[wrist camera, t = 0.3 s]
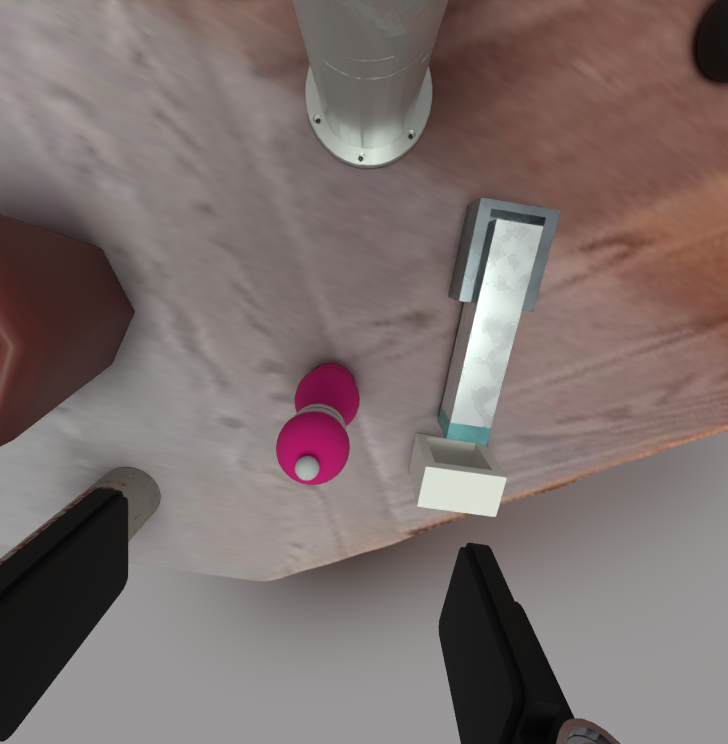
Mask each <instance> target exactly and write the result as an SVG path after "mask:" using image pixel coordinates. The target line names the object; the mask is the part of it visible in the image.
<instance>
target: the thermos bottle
mask: <svg viewBox="0 0 728 744" xmlns="http://www.w3.org/2000/svg"><path fill="white" fill-rule="evenodd" d="M96 488H107V489H114V490H120V491H122V493H123V496H124V497H127V499H128V542H129V540H130V539H131V538H132V537H133V536H134V535H135V534H136V532H137V531H138V530H139V529H140V528H141V527H142V526H143V524H144V523H145V522H146V521H147V520H148V519H149V517H150V516H151V515H152V514H153V513H154V512H155V511H156V509H157V507H158V505H159V503H160V492H159V489H158V486H157V485H156V483H155V482H154V480H153V479H152V478H151V477H150V476H148V475H147V474H146V473H144V472H142V471H140V470H137V469H134V468H125V467H124V468H117V469H115V470H112V471H111V472H109V473H108V474H106V475H105V476H104V477H103V478H101V479H100V480H99V481H97V482H96V483H95V484H94V485H92V486H91V487H90V488H89V489H87V490H86V491H85V492H84V493H82V494H81V495H80V496H79V497H77V498H76V499H75V500H74V501H72V502H71V503H70V504H69V505H67V506H66V507H65V508H63V509H62V510H61V511H60V512H58V513H57V514H56V515H55V516H53V517H52V518H51V519H50V520H48V521H47V522H46V523H45V524H43V525H42V526H41V527H40V528H38V529H37V530H36V531H35V532H33V533H32V534H31V535H29V536H28V537H27V538H26V539H24V540H23V541H22V542H21V543H19V544H18V545H17V546H16V547H14V548H13V549H12V550H11V551H9V552H8V553H7V554H6V555H4V556H3V557H2V558H1V559H0V564H2V563H3V562H4V561H5V560H7V559H8V558H9V557H10V556H12V555H13V554H14V553H15V552H17V551H18V550H19V549H20V548H22V547H23V546H24V545H25V544H27V543H28V542H29V541H30V540H32V539H33V538H34V537H35V536H37V535H38V534H39V533H40V532H42V531H43V530H44V529H45V528H47V527H48V526H49V525H50V524H52V523H53V522H54V521H55V520H57V519H58V518H59V517H60V516H62V515H63V514H64V513H65V512H67V511H68V510H69V509H70V508H72V507H73V506H74V505H75V504H77V503H78V502H79V501H80V500H82V499H83V498H84V497H85V496H87V495H88V494H89V493H90V492H92V491H93V490H94V489H96Z"/></svg>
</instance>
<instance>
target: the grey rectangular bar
mask: <svg viewBox="0 0 728 744" xmlns="http://www.w3.org/2000/svg"><path fill="white" fill-rule="evenodd" d="M542 230H543V226H537V225H531V224H525V223H518V222H512V221H506V220H500V219H496V220H493V221H491V222H488V227H487V231H486V236H485V240H484V244H483V249H482V253H481V258H480V262H479V267H478V271H477V276H476V280H475V285H474V289H473V293H472V298H471V302H465V301H464V306H463V310H462V315H461V319H460V324H459V329H458V333H457V338H456V342H455V347H454V351H453V356H452V360H451V365H450V369H449V374H448V379H447V383H446V388H445V392H444V397H443V401H442V406H441V408H440V413H439V417H438V423H439V425H440V427H441V429H442V431H443V433H444V436H445V438H446V439H448V440H455V441H462V442H469V443H477V444H484V445H487V442H488V438H489V434H490V431H491V424H492V420H493V417H494V413H495V409H496V405H497V401H498V398H499V394H500V390H501V386H502V382H503V379H504V375H505V371H506V367H507V363H508V360H509V356H510V352H511V348H512V344H513V341H514V337H515V333H516V329H517V325H518V322H519V318H520V314H521V310H522V306H523V303H524V299H525V295H526V291H527V287H528V284H529V280H530V276H531V272H532V268H533V265H534V261H535V257H536V253H537V249H538V246H539V242H540V238H541V234H542Z"/></svg>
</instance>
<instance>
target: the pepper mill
mask: <svg viewBox="0 0 728 744" xmlns="http://www.w3.org/2000/svg"><path fill="white" fill-rule="evenodd" d="M359 399H360V398H359V392H358V389H357V386H356V383H355V380H354V378H353V376H352V374H351V373H350V372H349V371H348V370H347V369H345V368H344V367H342V366H340V365H336V364H324V365H321V366H319V367H317V368H315V369H314V370H313V371H312V372H311V373H309V374H308V375H306V376H305V377H304V378H303V379H302V381H301V382H300V384H299V386H298V388H297V391H296V394H295V408H296V411H297V414H296V415H295V416H294V417H293V418H292V419H290V420H289V421H288V422H287V423H286V424H285V425H284V427H283V428H282V430H281V432H280V434H279V436H278V440H277V445H276V453H277V458H278V462H279V464H280V466H281V468H282V469H283V471H284V472H285V473H286V474H287V475H288V476H289V477H291V478H292V479H293V480H295V481H297V482H300V483H302V484H308V485H317V484H322V483H325V482H327V481H329V480H331V479H333V478H334V477H335V476H337V475H338V474H339V473H340V472H341V470H342V469H343V468H344V466H345V464H346V462H347V459H348V455H349V449H350V445H349V438H348V435H347V432H346V426H347V425H348V424H349V423H350V422H351V421H352V420H353V419H354V417H355V415H356V413H357V410H358V407H359Z"/></svg>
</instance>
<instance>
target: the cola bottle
mask: <svg viewBox="0 0 728 744" xmlns="http://www.w3.org/2000/svg"><path fill="white" fill-rule="evenodd" d="M697 56H698V61H699V63H700V66H701V68H702V69H703V71H704V72H705V73H706V74H707V75H708V76H710V77H711V78H713V79H715V80H718V81H722V82H728V0H717V1H716V2H715V4H714V5H713V6H712V8H711V9H710V11H709V12H708V14H707V16H706V17H705V19H704V21H703V23H702V26H701V28H700V31H699V35H698V40H697Z"/></svg>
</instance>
